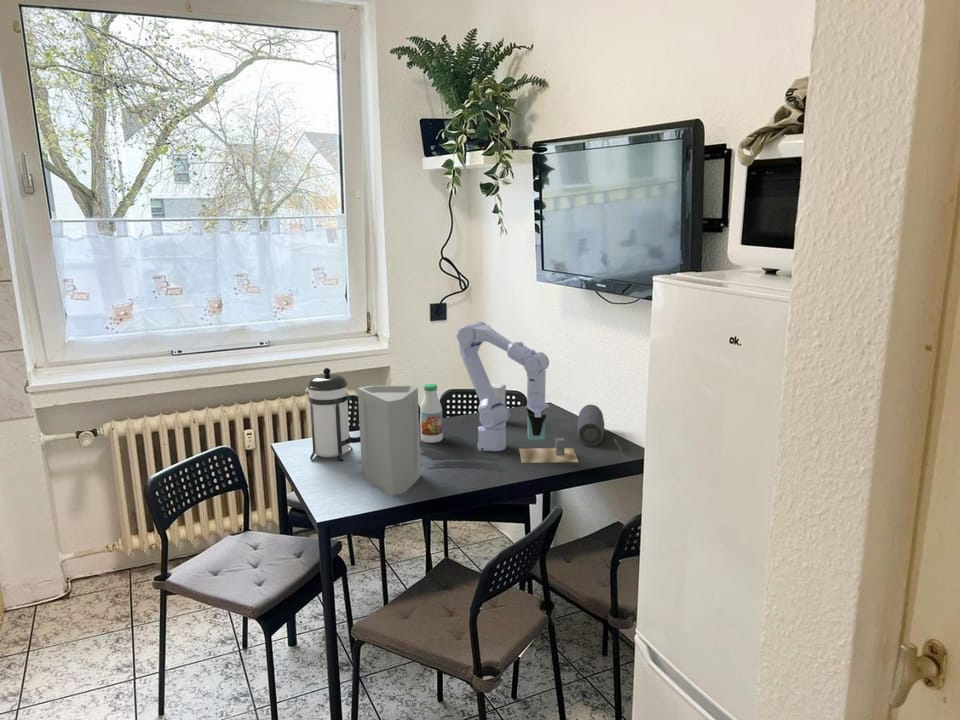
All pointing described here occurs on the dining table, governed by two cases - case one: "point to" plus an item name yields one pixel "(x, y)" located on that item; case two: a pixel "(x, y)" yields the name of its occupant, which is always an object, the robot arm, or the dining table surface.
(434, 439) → the milk bottle
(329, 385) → the coffee press
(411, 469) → the hollow triangular prism
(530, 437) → the teal foam brick
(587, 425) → the bluetooth speaker
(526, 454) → the base board
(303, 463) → the dining table surface
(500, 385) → the skincare box
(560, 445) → the post
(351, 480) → the dining table surface
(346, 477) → the dining table surface
